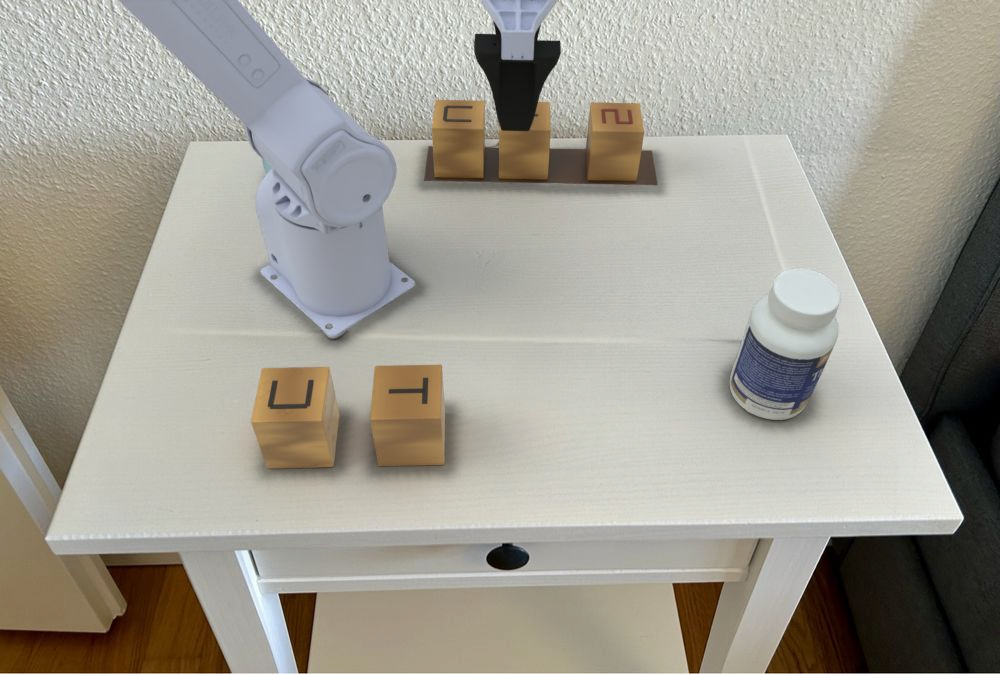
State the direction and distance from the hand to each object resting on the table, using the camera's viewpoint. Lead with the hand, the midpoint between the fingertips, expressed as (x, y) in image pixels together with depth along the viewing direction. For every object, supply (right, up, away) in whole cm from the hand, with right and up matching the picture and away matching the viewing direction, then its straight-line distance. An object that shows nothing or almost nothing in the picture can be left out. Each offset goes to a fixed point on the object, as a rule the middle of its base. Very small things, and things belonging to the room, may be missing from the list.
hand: (515, 98), depth 63 cm
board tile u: (-5, -3, +11) cm, 12 cm away
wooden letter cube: (+9, -3, +11) cm, 14 cm away
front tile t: (-7, -24, -8) cm, 27 cm away
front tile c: (-14, -25, -8) cm, 29 cm away
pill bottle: (+17, -22, -5) cm, 28 cm away
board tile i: (+1, -3, +11) cm, 11 cm away
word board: (+2, -3, +11) cm, 12 cm away
